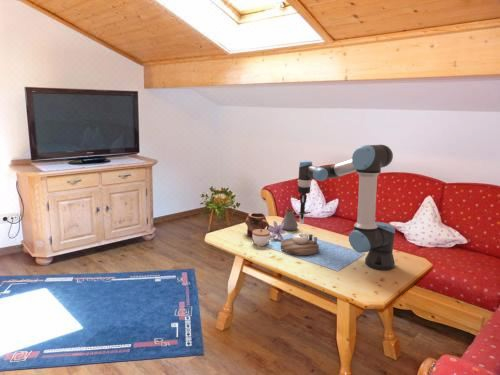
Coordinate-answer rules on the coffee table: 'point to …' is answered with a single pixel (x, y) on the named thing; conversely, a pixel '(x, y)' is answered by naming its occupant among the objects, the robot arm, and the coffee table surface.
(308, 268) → the coffee table surface
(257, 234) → the lidded jar
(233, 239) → the coffee table surface
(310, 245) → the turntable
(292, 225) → the coffee pot
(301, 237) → the lid
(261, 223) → the decorative planter
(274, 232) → the water lily
